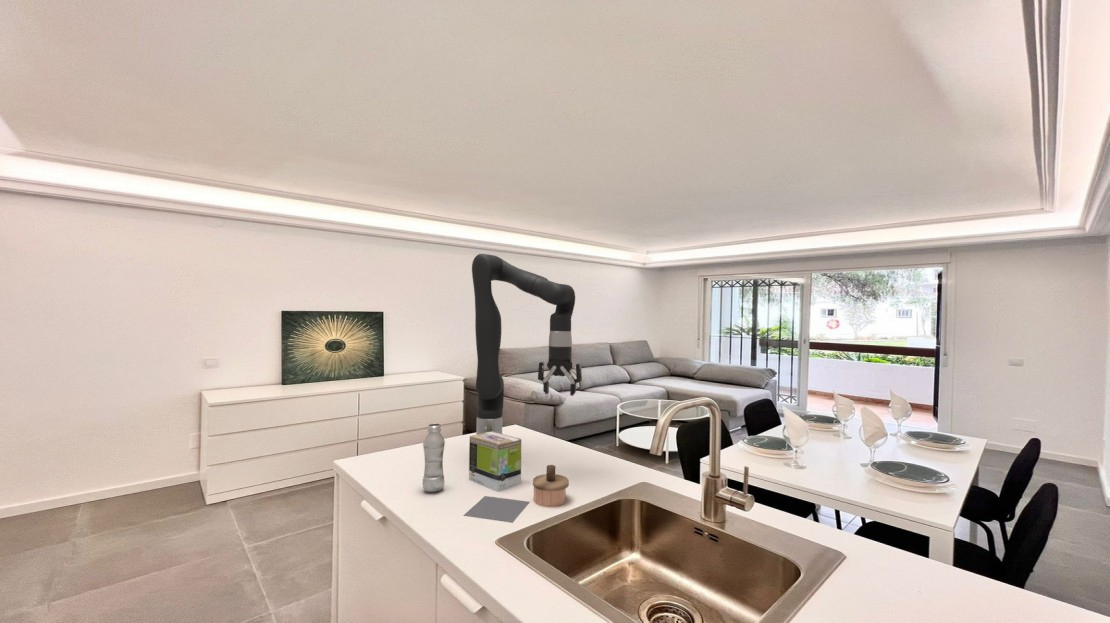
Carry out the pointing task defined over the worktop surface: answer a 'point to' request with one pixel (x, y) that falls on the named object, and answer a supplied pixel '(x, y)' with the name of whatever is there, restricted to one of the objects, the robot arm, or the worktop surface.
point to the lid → (550, 480)
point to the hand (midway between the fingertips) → (559, 394)
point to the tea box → (495, 460)
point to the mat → (497, 509)
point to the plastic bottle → (433, 459)
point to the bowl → (549, 497)
